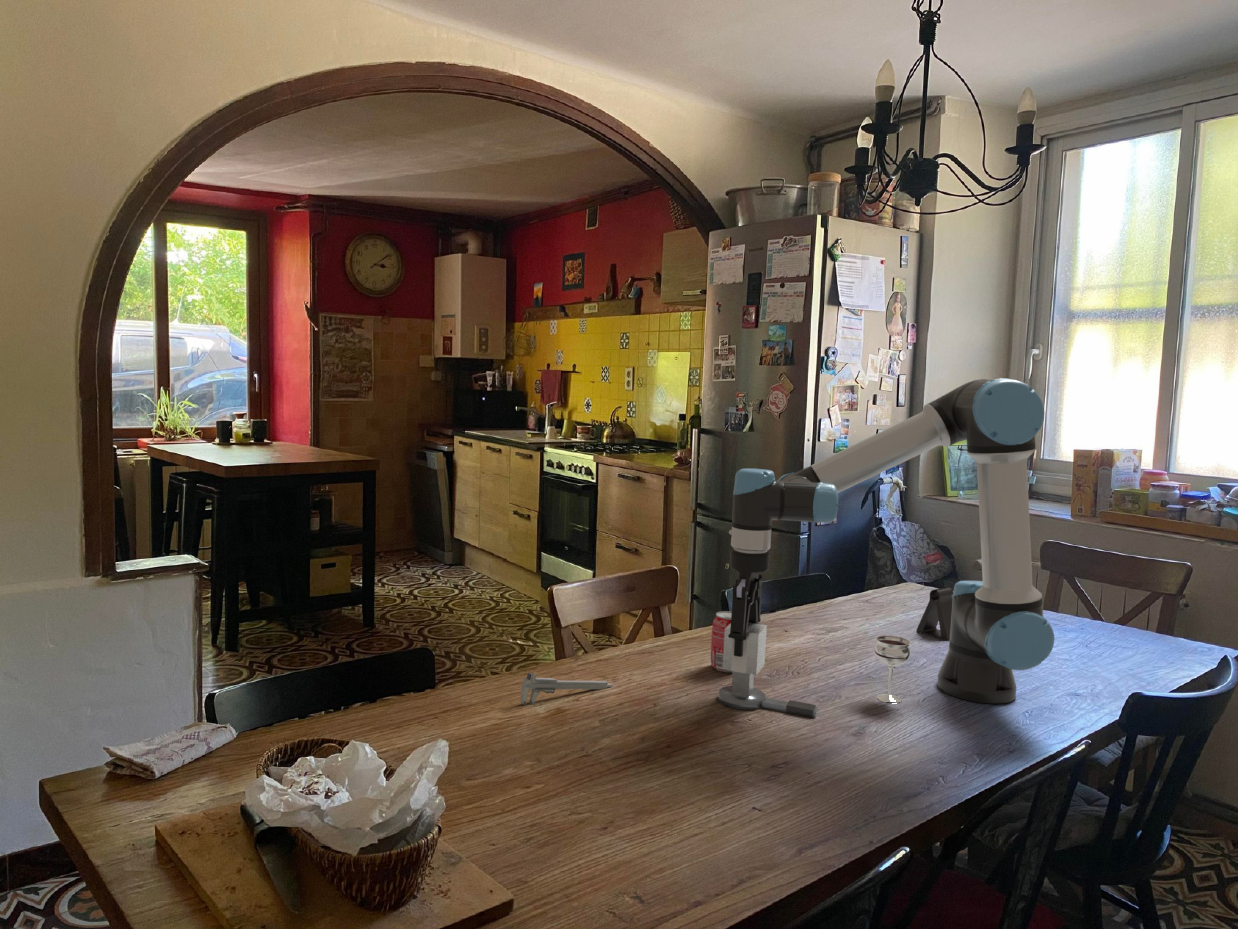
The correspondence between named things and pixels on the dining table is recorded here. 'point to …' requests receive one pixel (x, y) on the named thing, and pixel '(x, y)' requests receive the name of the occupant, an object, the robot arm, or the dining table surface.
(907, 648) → the wineglass
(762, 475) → the robot arm
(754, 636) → the white grooved block
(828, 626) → the dining table surface
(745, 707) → the ratchet
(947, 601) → the dark grey wedge-shaped frame
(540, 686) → the caliper
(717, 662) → the soda can
